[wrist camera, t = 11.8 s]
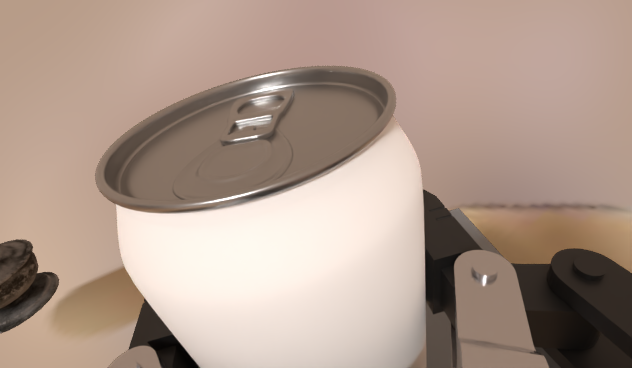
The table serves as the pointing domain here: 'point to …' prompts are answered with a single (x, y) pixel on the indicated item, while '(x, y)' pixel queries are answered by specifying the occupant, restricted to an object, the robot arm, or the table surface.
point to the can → (277, 222)
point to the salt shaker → (22, 284)
